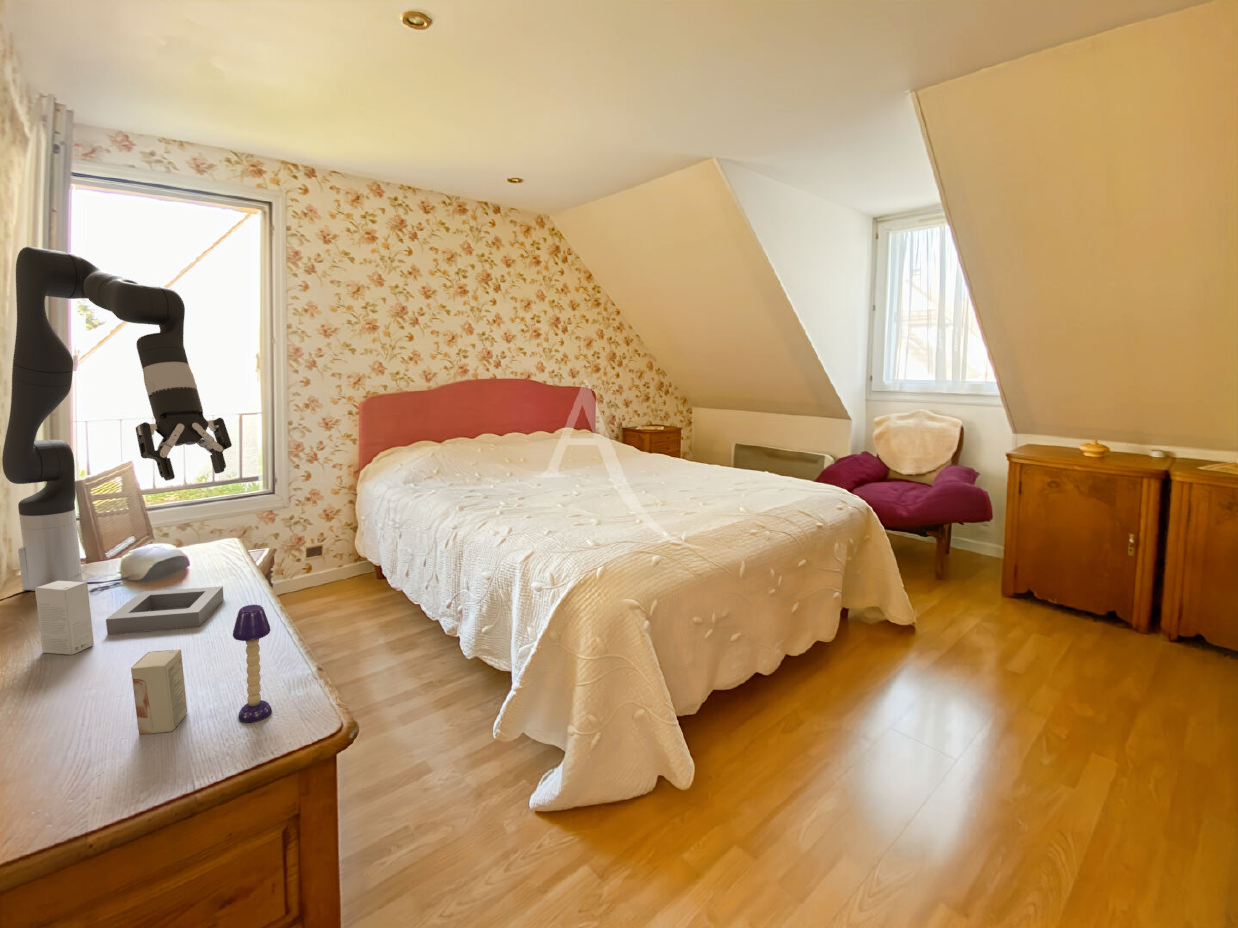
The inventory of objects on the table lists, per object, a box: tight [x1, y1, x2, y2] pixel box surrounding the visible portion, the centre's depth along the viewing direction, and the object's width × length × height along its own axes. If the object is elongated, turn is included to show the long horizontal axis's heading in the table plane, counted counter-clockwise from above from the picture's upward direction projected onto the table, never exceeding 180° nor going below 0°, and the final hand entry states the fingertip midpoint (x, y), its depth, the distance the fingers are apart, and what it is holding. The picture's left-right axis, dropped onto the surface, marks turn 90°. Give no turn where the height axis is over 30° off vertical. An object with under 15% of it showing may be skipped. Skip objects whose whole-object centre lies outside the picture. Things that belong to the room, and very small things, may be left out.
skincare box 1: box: [34, 581, 95, 656], centre depth 107 cm, size 6×4×12 cm
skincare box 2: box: [130, 649, 188, 735], centre depth 86 cm, size 5×4×10 cm
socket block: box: [105, 585, 225, 635], centre depth 124 cm, size 15×15×3 cm
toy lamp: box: [232, 604, 273, 723], centre depth 88 cm, size 5×5×17 cm
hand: (195, 476), depth 112 cm, fingers open, 8 cm apart
